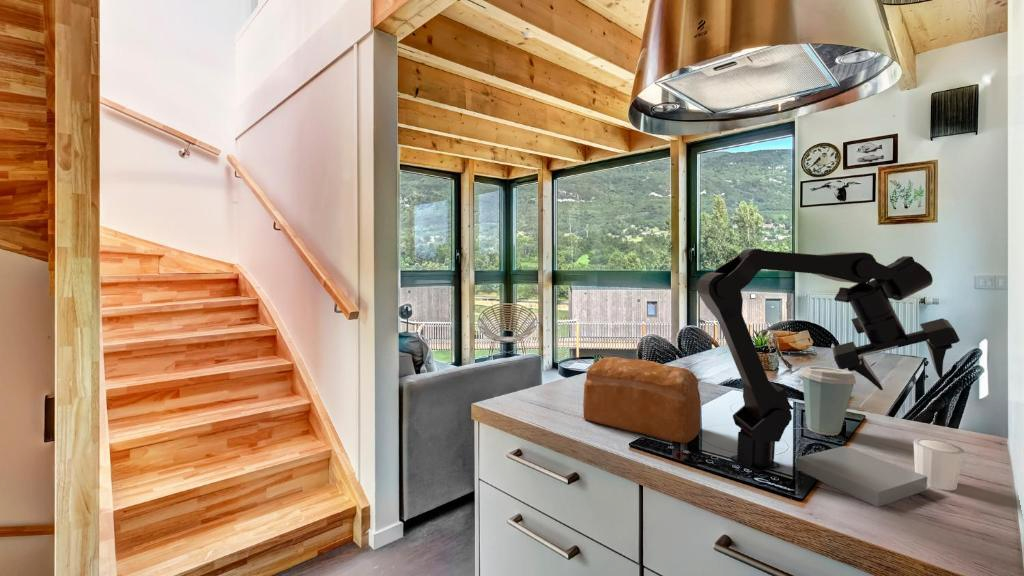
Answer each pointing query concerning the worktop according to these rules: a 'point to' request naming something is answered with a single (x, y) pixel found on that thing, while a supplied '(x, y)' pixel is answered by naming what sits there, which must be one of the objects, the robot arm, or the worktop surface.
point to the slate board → (862, 475)
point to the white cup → (938, 462)
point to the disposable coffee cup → (826, 398)
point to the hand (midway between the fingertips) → (910, 383)
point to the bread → (643, 398)
